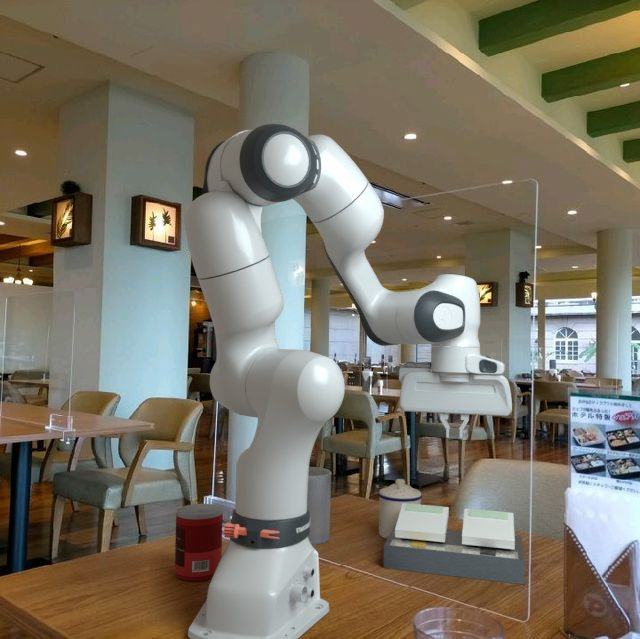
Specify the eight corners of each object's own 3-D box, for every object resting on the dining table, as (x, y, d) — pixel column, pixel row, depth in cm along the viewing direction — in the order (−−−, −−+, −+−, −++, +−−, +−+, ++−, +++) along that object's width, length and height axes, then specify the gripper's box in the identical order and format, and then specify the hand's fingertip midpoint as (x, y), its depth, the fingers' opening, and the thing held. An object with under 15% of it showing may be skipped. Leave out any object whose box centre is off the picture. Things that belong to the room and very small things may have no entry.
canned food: (230, 571, 109) (231, 507, 109) (199, 586, 102) (201, 518, 102) (196, 562, 113) (198, 501, 113) (164, 576, 106) (166, 510, 106)
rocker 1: (444, 542, 112) (444, 532, 112) (395, 537, 115) (394, 527, 114) (448, 514, 122) (448, 505, 121) (402, 510, 124) (402, 501, 124)
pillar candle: (273, 536, 129) (275, 463, 129) (310, 527, 135) (311, 458, 135) (302, 549, 121) (304, 472, 122) (340, 539, 128) (341, 466, 128)
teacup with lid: (430, 539, 129) (430, 482, 129) (391, 544, 125) (392, 485, 125) (399, 523, 140) (400, 471, 140) (363, 527, 136) (364, 474, 136)
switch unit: (524, 584, 105) (524, 551, 105) (383, 567, 112) (384, 537, 112) (521, 557, 119) (521, 528, 119) (395, 544, 125) (395, 516, 125)
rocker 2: (514, 549, 109) (514, 539, 109) (461, 544, 111) (461, 534, 111) (513, 520, 118) (513, 511, 118) (464, 516, 121) (464, 507, 121)
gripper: (396, 361, 115) (395, 437, 114) (512, 364, 109) (512, 444, 109) (401, 360, 121) (400, 432, 120) (512, 363, 115) (511, 439, 115)
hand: (454, 438), depth 114 cm, fingers closed
